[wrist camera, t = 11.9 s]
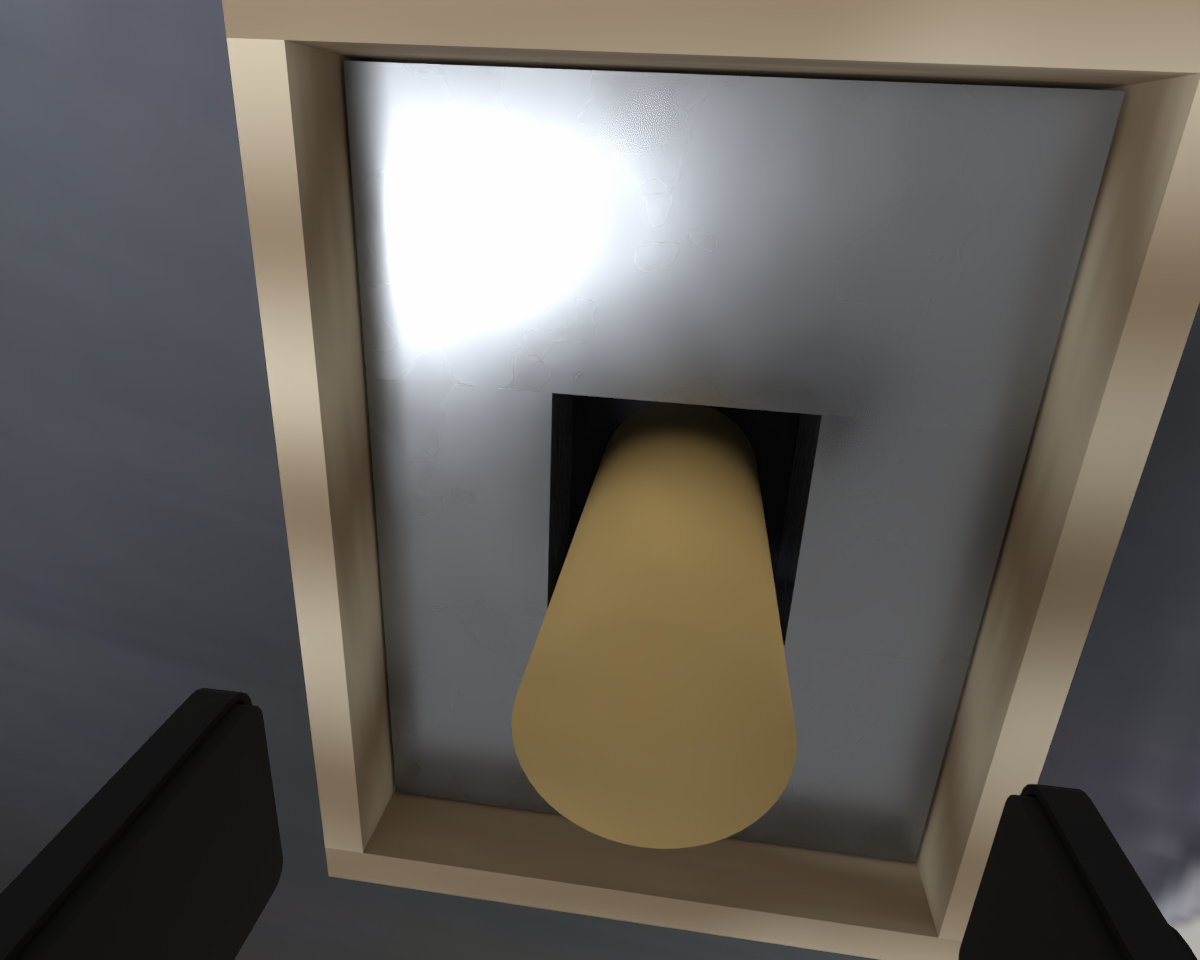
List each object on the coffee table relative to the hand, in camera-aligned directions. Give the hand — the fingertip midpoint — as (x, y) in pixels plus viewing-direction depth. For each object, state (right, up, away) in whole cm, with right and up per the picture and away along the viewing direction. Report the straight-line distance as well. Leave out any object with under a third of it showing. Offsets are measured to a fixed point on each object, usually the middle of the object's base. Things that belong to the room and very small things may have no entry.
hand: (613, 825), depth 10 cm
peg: (+2, +4, +10) cm, 11 cm away
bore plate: (+2, +4, +10) cm, 11 cm away
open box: (+2, +4, +10) cm, 11 cm away
